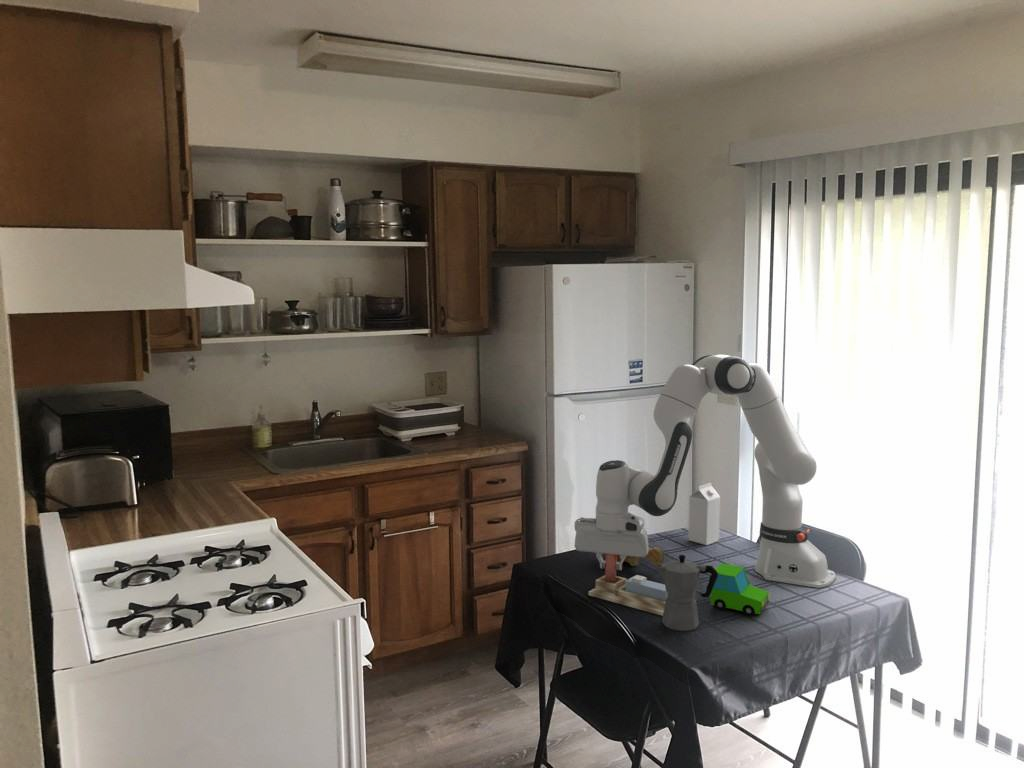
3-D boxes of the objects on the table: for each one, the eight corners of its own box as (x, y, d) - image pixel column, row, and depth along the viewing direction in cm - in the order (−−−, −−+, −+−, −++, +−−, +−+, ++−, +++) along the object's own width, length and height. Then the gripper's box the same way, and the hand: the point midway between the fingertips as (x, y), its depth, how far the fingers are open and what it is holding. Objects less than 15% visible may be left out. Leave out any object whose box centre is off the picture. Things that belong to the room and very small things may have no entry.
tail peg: (617, 579, 234) (618, 551, 233) (613, 582, 231) (614, 554, 230) (607, 577, 235) (608, 549, 234) (603, 580, 233) (604, 552, 232)
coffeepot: (653, 629, 209) (655, 560, 207) (654, 614, 218) (655, 547, 216) (717, 634, 207) (719, 563, 204) (715, 618, 216) (717, 550, 213)
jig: (685, 601, 227) (685, 589, 226) (663, 616, 217) (663, 603, 217) (611, 582, 241) (611, 570, 240) (588, 595, 231) (588, 582, 231)
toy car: (759, 620, 214) (761, 583, 213) (709, 609, 221) (710, 573, 220) (770, 607, 223) (772, 570, 222) (721, 597, 230) (722, 561, 229)
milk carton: (688, 540, 277) (689, 484, 274) (700, 536, 282) (702, 480, 279) (706, 545, 272) (708, 488, 269) (719, 541, 277) (720, 484, 274)
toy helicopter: (623, 555, 263) (623, 512, 262) (672, 574, 247) (673, 528, 245) (603, 560, 259) (604, 517, 257) (652, 580, 242) (653, 534, 240)
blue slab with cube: (672, 601, 224) (672, 583, 224) (665, 605, 221) (665, 587, 221) (632, 590, 232) (633, 573, 231) (625, 594, 229) (625, 577, 228)
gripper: (572, 520, 231) (571, 568, 233) (646, 526, 225) (645, 576, 227) (577, 513, 237) (576, 561, 239) (650, 519, 231) (649, 568, 233)
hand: (610, 568), depth 233 cm, fingers closed on tail peg, 3 cm apart
